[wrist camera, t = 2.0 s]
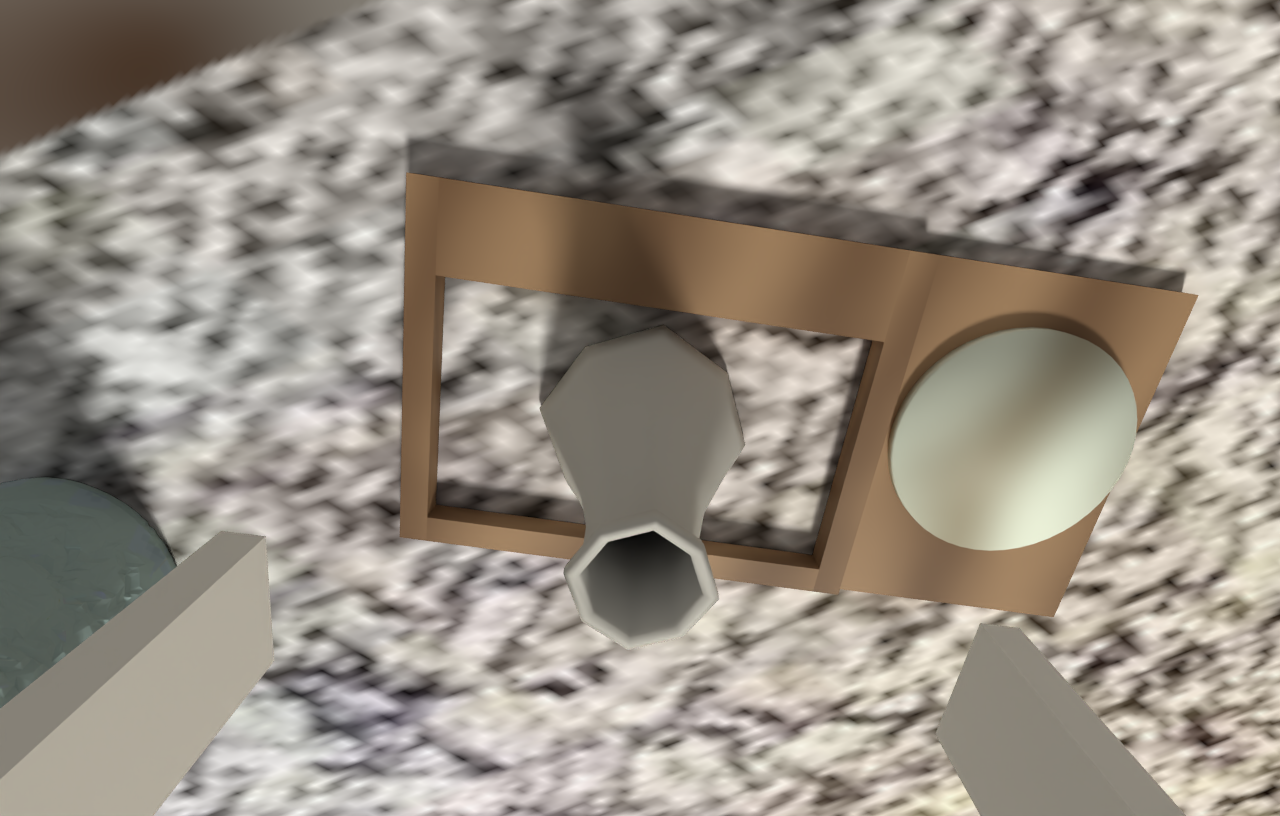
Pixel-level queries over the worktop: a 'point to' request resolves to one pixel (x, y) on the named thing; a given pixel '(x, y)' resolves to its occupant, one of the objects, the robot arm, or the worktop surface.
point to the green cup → (65, 571)
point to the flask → (643, 480)
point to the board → (887, 397)
